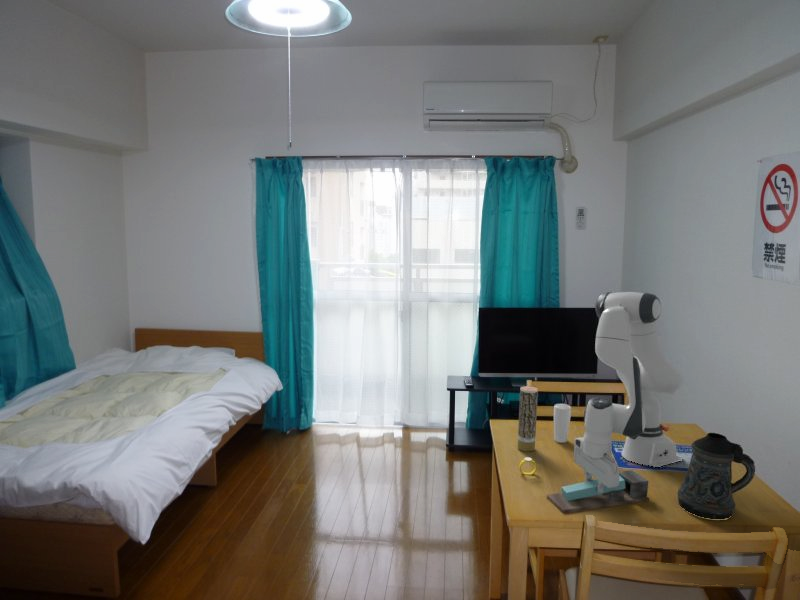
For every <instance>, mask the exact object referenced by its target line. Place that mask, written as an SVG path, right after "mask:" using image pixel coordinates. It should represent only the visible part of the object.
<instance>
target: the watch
mask: <svg viewBox="0 0 800 600" xmlns="http://www.w3.org/2000/svg"><path fill="white" fill-rule="evenodd" d="M524 463H532V464H534V469H533V470H532V471H531V472H524V471H523V470H522V465H523V464H524ZM518 468H519V470H520V473H521V474H522V475H524V476H533V475H534V474H535V473H536V472H537V470H538V469H537V464H536V462H535V460H534V459H532V457H529V456H527V457H524V458H523V459H522V460H521V461H520V463H519V467H518Z"/></svg>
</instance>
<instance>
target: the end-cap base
mask: <svg viewBox="0 0 800 600" xmlns="http://www.w3.org/2000/svg"><path fill="white" fill-rule="evenodd" d="M619 476H621V477H622V478H623V479H624V480H625V489H622V490H617V491H609V492H608V493H603V494H599V495H594V496H589V497H585V498H580V499H575V500H571V501H567V500H566V499H565V498H564V496H563V495H562V492H557V493H551V494H546V498H547V499H548V501H550V502H551V503H552V504H553V505H554V506H555V507H556V508H557V509H558V510H559V511H560V512H561V513H562V514H565V513H573V512H579V511H587V510H593V509H599V508H607V507H614V506H621V505H627V504H628V505H629V504H634V503H635V502H636V503H642V502H641V501H643V502H648V501H647V500H649V501H650V497H649V496H648V492H649V491H648V488H649V480H648V479H646V478H645V477H643V476H642V475H641V474H639V473H637V472H636V471H635V470H633V469H631V470H623V471H622V470H621V471H619Z"/></svg>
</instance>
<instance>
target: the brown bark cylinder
mask: <svg viewBox="0 0 800 600" xmlns="http://www.w3.org/2000/svg"><path fill="white" fill-rule="evenodd" d="M538 397H539V389H538V388H537V387H535V386H528V385H526V386H525V385H523V386H520V390H519V406H518V407H519V409H518V411H519V412H518V429H517V430H518V431H517V448H518V450H520V451H521V452H527V453H529V452H533V451H535V448H536V433H537V431H536V429H537V415H538Z"/></svg>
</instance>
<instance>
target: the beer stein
mask: <svg viewBox="0 0 800 600" xmlns="http://www.w3.org/2000/svg"><path fill="white" fill-rule="evenodd" d="M691 452H692V453H691V457H690V461H689V464H688V468H687V471H686V474H685V477H684V478H683V481H682V484H681V485H680V487H679V488H678V490H677V499H678V506H679V505H680V506H681V507H682V508H684V509H685V510H686V511H688V512H690V513H692V514H695V515H697V516H700V517H704V518H710V519H725V518H729V517H730V516H732V514H733V515H734V512H735V510H736V503H735V500H734V496H733V494H734V493H737V492H739V491H741V490H742V489H744V488H745V487H746V486H748V485H749V484H750V483H751V482H752V481H753V479H754V477H755V474H756V466H755V461H754V460H753V459H752V458H751V456H749V455H748V454H746V453H744V449H743V447H742V446H741V445H740V444H739V443H734V442H731V441H730V440H729V439H728V438H727V437H726V436H725V435H723V434H720V433H716V432H708V433H707V435H705V436H704V437H700V438H698V439H696V440H694V441H693V442H692V443H691ZM733 462H734V463H737V464H742V465H743V466H744V467H745V469H746V470H745V471H746V472H745V474H744V475H743V476H742V477H741V478H740V479H738V480H736V481H735V482H732V477H733V471H732V464H733ZM680 506H679V507H680ZM681 507H680V508H681ZM682 508H681V509H682ZM685 510H684V511H685ZM686 511H685V512H686ZM692 514H691V515H692ZM732 517H733V516H732Z"/></svg>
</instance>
